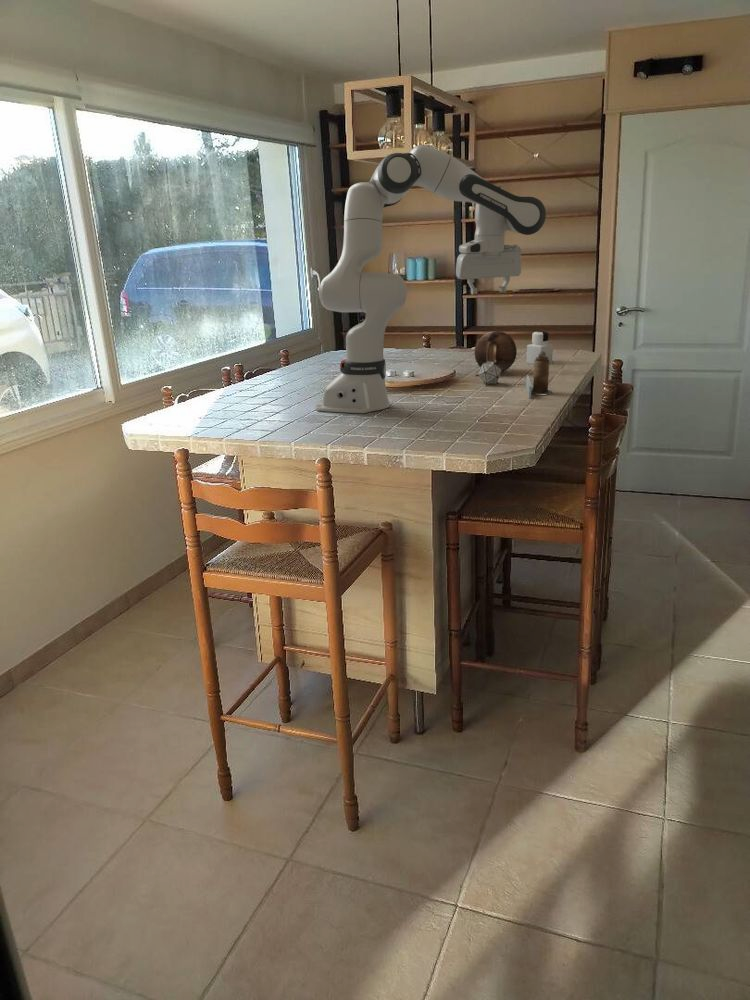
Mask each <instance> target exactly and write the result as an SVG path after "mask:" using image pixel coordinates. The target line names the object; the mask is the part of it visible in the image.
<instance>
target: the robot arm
mask: <svg viewBox="0 0 750 1000" xmlns="http://www.w3.org/2000/svg"><path fill="white" fill-rule="evenodd" d="M412 187H420V188H424V189H426V190H427V191H429V192H431V193H432V194H434V195H436V196H437V197H438V196H439V197H441V198H443V199H447V200H449V201H454V202H461V203H462V202H464V203H473V204H475V207H474V210H475V211H474V222H475V232H474V239H473V240H471V241H468V242H465V243H463V244H460V245H459V247H458V251H459V253H460V254H459V255H458V256H457V258H456V263H455V265H456V267H455V276H456V278H457V279H459V280H467V282H466V283H467V284H468V286H469V288H470V294H471V295H478V288H477V287H475V285H474V284H475V279H491V278H492V279H493V278H502V281H503V282H502V285H500V286H498V287H499V289H498V293H506V292H507V287H508V285H509V282H510V281H511V278H512V277H519V276H520V275H521V273H522V262H521V256H522V249H521V247H520V246H519V245H517V244H505V235H506V234H505V232H506V231H509V232H511V233H517V234H521V235H525V236H528V235H533V234H535V233H537V232H539V231H540V230H541V229H542V228H543V226H544V224H545V221H546V218H547V211H546V207H545V205H544V203H543V202H542V201H541V200H540V199H539V198H536V197H533V196H519V195H515V194H514V193H511V192H509V191H508V190H507V189H505V188H504V187H503V186H497V185H495V184H493V183H491V182H489V181H488V180H486V179H485V178H483V177H482V176H481V175H479V173H476V172H475V171H474V170H473V169H471V168H470V167H469V166H467V165H466V164H465V163H463V162H462V160H461V161H460V160H459V159H457V158H456V157H454V156H453V155H450V154H448V153H446V152H444V151H443V150H440V149H437V148H434V147H431V146H429V145H425V144H418V145H416V146H414V147H413V148H412V149H411V150H410V151H409V152H405V153H404V152H403V153H402V152H393V153H389V154H388V155H386V156H385V157H384V158H382V160H381V161H380V163H379V164H378V165H377V166H376V168H375V170H374V171H373V174H372V176H371V178H370V179H369V181H366V182H365V181H363V182H362V181H361V182H357V183H354V184H353V185H351V186H350V187H349V188H348V190H347V193H346V199H345V204H344V214H343V241H342V242H343V243H342V250H341V255H340V258H339V259H338V262H337V263H336V265H335V267H334V268H333V269H332V270H331V272H329V274H327V275H326V276H324V278H323V279H322V280H321V282H320V284H319V286H318V298H319V301H320V303H321V305H322V306H323V307H324V309H325V310H328V311H332V312H337V313H364V314H365V316H364V317H365V319H364V321H362V322H360V323H357V324H356V325H354V326H353V327H351V328H350V329H349V330H348V331H347V333H346V335H345V348H346V349H345V351H346V355H345V356H346V359H345V358H344V359H341V361H340V364H339V369H340V370H339V371H340V373H339V374H338V375H337V376H336V377H334V378H333V379H332V380H331V381H330V382H328V383H327V384H326V386H324V390H323V392H322V393H323V394H322V399H321V400H319V401H318V402H316V404H315V410H316V411H318V412H332V413H334V412H335V413H352V414H366V413H370V412H375V411H381V410H385V409H388V408H389V407H390V406H391V404H390V400H389V396H388V391H387V386H386V376H387V370H386V369H387V367H386V365H387V364H386V360H385V358H384V346H385V345H384V343H385V332H386V329H387V325H388V324H389V321H390V320H391V319H392V318H393V316H394V315H395V313H397V312H398V311H399V310H401V308H403V307H404V305H405V303H406V301H407V298H408V286H407V284H406V281H405V280H404V278H403V277H402V276H401V275H400V274H395V273H389V272H362V270H363V267H364V266H365V265H366V264H367V263H370V262H371V261H372V260H374V259H376V258H378V256H379V255H380V254H381V253H382V250H383V212H384V208H387V207H391V206H394V205H397V204H398V203H399V202H401V200H402V199H403V198H404V197H406V195H407V194H408V192H409V191H410V189H411V188H412Z"/></svg>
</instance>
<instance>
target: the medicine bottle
mask: <svg viewBox="0 0 750 1000" xmlns="http://www.w3.org/2000/svg"><path fill="white" fill-rule="evenodd" d="M531 337H532V338H531V343H530V344H527V345H526V357H525V358H526V359H525V360H526V361H525V362H526V364H528V365H534V360H536V357H538V354H539V352H541V351H544V352H545V353H546V357H548V360H549V363H550V364H552V363H553V354H554V353H553V351H554V345H553V344H551V343H549V332H547V331H542V330H541V331H534V332H532V335H531Z"/></svg>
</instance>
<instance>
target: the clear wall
mask: <svg viewBox="0 0 750 1000" xmlns="http://www.w3.org/2000/svg"><path fill="white" fill-rule="evenodd" d="M525 385H526V386H525V387H526V388H525V389H526V391H527V392H528V393H527V395H528V396H529V397H528V399H529V398H531V399H532V394H531V390H532V383H531V379H530V376H529V375H528V374H527V375H526V384H525Z"/></svg>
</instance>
